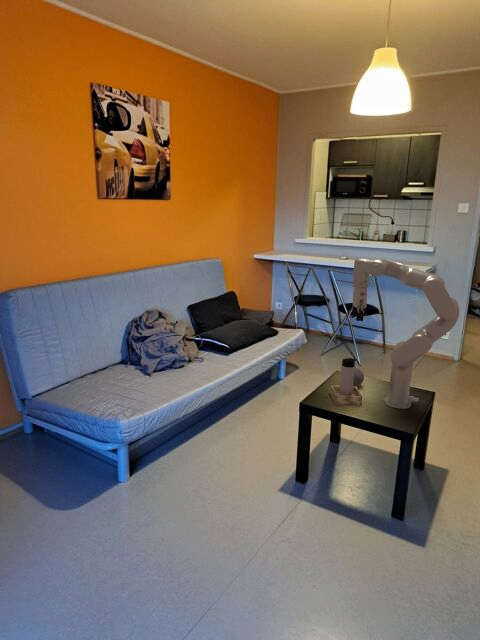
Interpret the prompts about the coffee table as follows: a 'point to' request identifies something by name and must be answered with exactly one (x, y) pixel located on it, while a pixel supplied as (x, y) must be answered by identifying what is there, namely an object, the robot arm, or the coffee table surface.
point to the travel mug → (347, 376)
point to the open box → (346, 397)
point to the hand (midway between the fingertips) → (357, 318)
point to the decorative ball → (358, 377)
